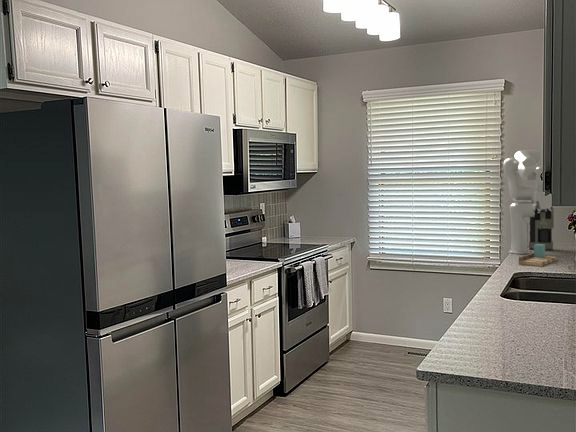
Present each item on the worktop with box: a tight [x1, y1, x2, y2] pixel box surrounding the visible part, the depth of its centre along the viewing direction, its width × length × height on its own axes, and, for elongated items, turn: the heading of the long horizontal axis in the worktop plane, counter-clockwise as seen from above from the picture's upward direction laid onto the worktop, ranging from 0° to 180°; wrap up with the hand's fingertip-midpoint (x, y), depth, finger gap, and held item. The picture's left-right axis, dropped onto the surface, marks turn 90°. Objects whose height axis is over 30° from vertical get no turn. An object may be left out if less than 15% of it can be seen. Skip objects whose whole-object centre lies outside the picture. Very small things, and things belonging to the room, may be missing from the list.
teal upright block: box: [533, 244, 546, 258], centre depth 317 cm, size 5×4×7 cm
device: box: [528, 208, 555, 251], centre depth 357 cm, size 14×8×30 cm, turn 59°
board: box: [518, 251, 558, 267], centre depth 311 cm, size 24×12×4 cm, turn 136°
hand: (542, 219), depth 310 cm, fingers open, 9 cm apart
